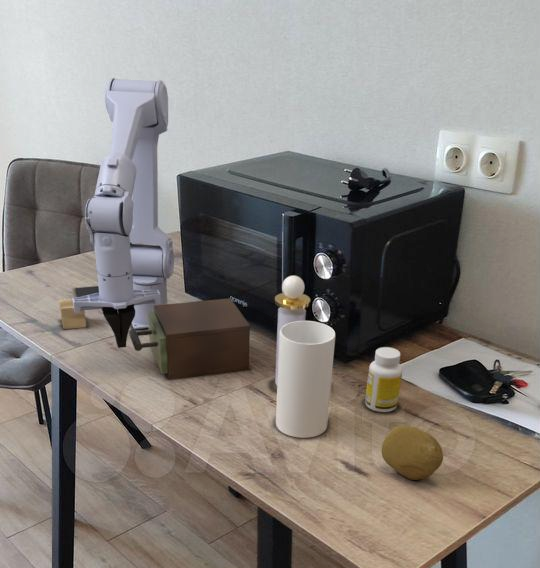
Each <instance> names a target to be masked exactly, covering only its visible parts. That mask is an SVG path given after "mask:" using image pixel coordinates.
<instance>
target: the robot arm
mask: <svg viewBox="0 0 540 568" xmlns="http://www.w3.org/2000/svg"><path fill="white" fill-rule="evenodd" d="M104 103H105V109H106V111H107V113H108V116H109V119H110V122H111V123H112V129H111V141H110V151H109V154H107V155H105V156H104V157H103V158H102V159H101V162H100V167H99V171H98V172H99V173H98V176H97V181H96V185H95V190H94V195H93V196H92V198H88V200H87V201H86V204H85V211H84V216H85V217H84V218H85V219H84V220H85V221H84V222H85V226H86V229H87V231H88V234H89V239H90V240H89V241H90V244H91V245H93V247H94V249H93V250H94V257H95V258H94V259H95V267H96V268H95V269H96V277H97V286H99V293H95V294H90V295H86V296H82V297H77V296H75V297H72V298H71V299H72V300H73V308H74V312H75V313H79V312H81V311H83V310H84V311H93V310H101V311H102V313H103V317H104V318H105V320H106V322H107V324H108V325H109V327H110V328H111V331H112V332H113V335H114V338H115V342H116V346H117V348H118V349H122V348H127V340H128V335H129V331H130V327H131V326H132V329H133V330H141V329H149V325H148V312H154V309H153V306H155V305H166V304H169V303H168V286H167V285H168V283H167V282H168V281H167V280H168V279H170V278H171V277H172V276H173V275H174V268H175V254H174V253H175V252H174V249H173V248H174V247H173V246H174V245H173V239H172V238H171V237H170V235H168V234H167V233H166V232H164V231H163V230H162V229H161V228H160V227H159V201H158V200H159V199H158V197H159V195H158V194H159V193H158V191H159V190H158V189H159V187H158V186H159V185H158V184H159V182H158V179H159V178H158V177H159V176H158V174H159V173H158V170H159V169H158V145H159V138H160V135H161V134H163V133H165V132H167V131H168V126H169V95H168V87H167V86H166V84H165V83H164V81H163V80H140V79H139V80H138V79H122V78H121V79H120V78H115V77H110V78H109V79H108V81H107V82H106V84H105V87H104Z"/></svg>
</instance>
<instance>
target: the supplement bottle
mask: <svg viewBox="0 0 540 568" xmlns="http://www.w3.org/2000/svg"><path fill="white" fill-rule="evenodd" d="M400 361H401V352H400V351H399V349H396V348H394V347H389V346H383V347H382V346H381V347H378V348H377V349H376V350H375V354H374V360H373V361H371V363H370V364H369V367H368V374H367V383H366V389H365V398H364V402H365V406H366V407H367V408H368V409H370V410H372V411H374V412H377V413H390V412H392V411H394V410H396V408H397V407H398V403H399V396H400V390H401V384H402V377H403V366H402V365H401V364H400Z"/></svg>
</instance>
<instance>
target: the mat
mask: <svg viewBox="0 0 540 568" xmlns="http://www.w3.org/2000/svg"><path fill="white" fill-rule="evenodd" d="M74 290H75V293H76V297H82V296H86V295H90V294H95V293H99V286H98V285H95V286H84V287H82V286H81V287H75V289H74Z"/></svg>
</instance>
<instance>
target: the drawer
mask: <svg viewBox="0 0 540 568" xmlns="http://www.w3.org/2000/svg"><path fill="white" fill-rule="evenodd" d="M148 325H149V328H148V330H138V331H137V329H129V331H128V335H129V338H130V341H131V343H132V346H133V348H134V351H136V352H140V351H141V350H142V349H146V348H150V349H151V352H152V354H153V356H154V359H155V361H156V364H157V367H158V369H159V371H160V373H161V374H162V375H165V374H167V373H168V357H167V338H166V335H165V333H164V331H163V330H162V327H161V325H160V323H159V321H158V319H157V317H156V315H155V313H154V312H148ZM140 336H148V338H149V342H144V343H142V342H141V339H140Z"/></svg>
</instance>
